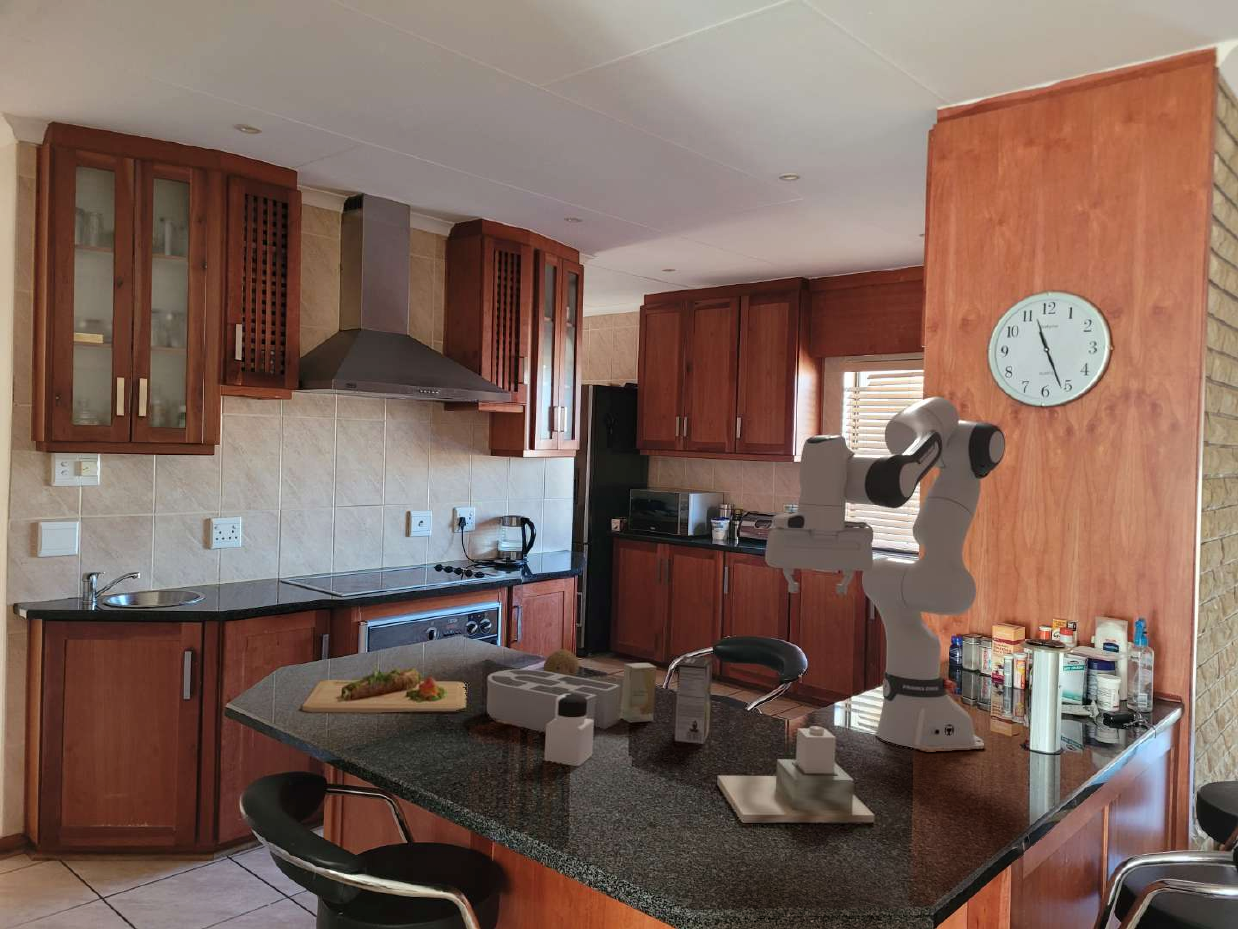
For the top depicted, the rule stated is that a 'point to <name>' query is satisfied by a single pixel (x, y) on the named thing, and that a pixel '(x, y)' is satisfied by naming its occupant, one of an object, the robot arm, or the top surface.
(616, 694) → the grey compartment organizer
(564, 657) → the natural sponge
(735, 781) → the display stand
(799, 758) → the building block
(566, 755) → the medicine bottle
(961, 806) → the top surface
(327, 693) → the cutting board
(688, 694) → the food carton
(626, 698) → the skincare box
